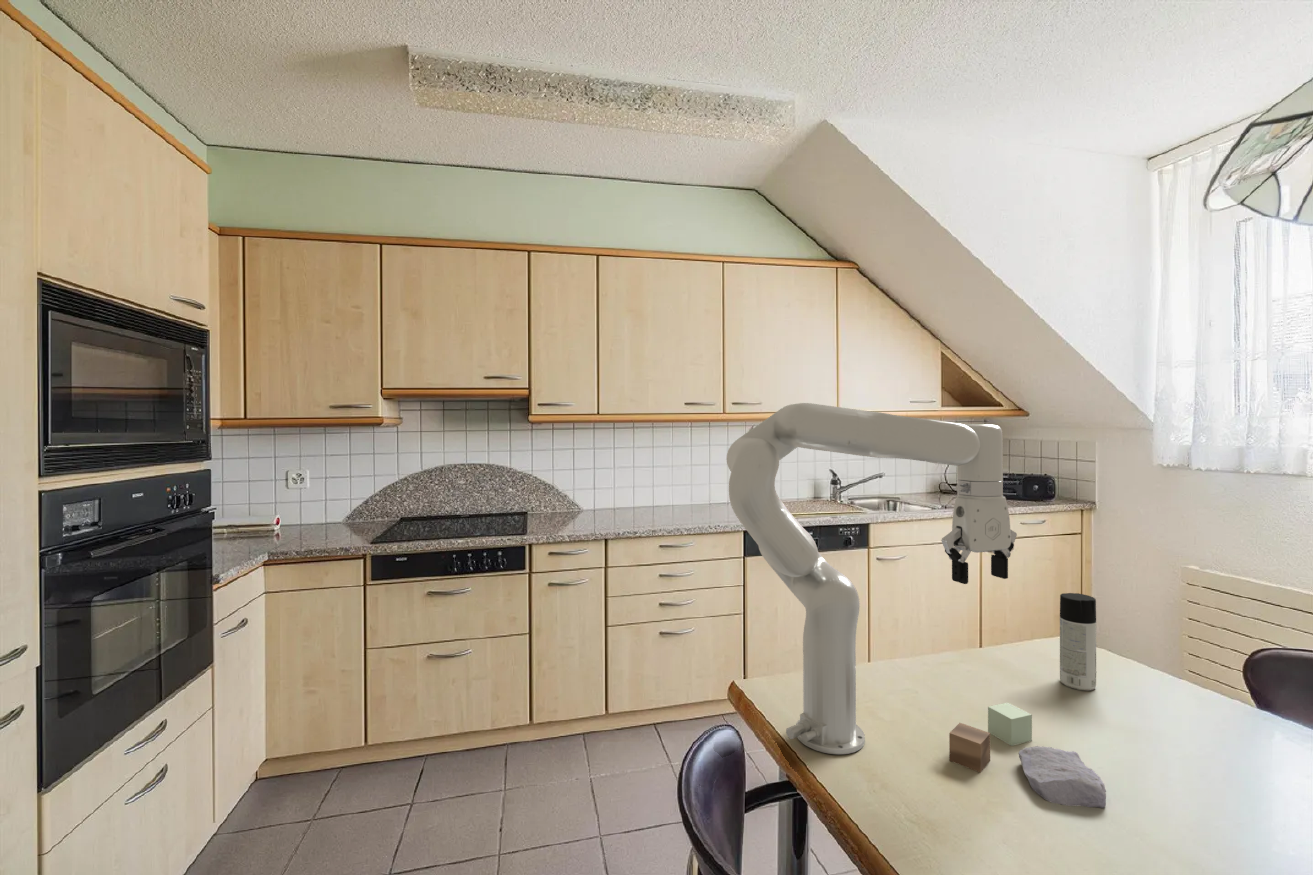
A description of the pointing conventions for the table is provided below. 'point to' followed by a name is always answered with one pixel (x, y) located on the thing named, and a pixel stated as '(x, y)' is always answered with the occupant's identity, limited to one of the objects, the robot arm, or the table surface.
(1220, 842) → the table surface
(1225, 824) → the table surface
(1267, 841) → the table surface
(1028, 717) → the sage block
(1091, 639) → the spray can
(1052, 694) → the table surface
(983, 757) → the walnut block
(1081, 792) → the stone block
